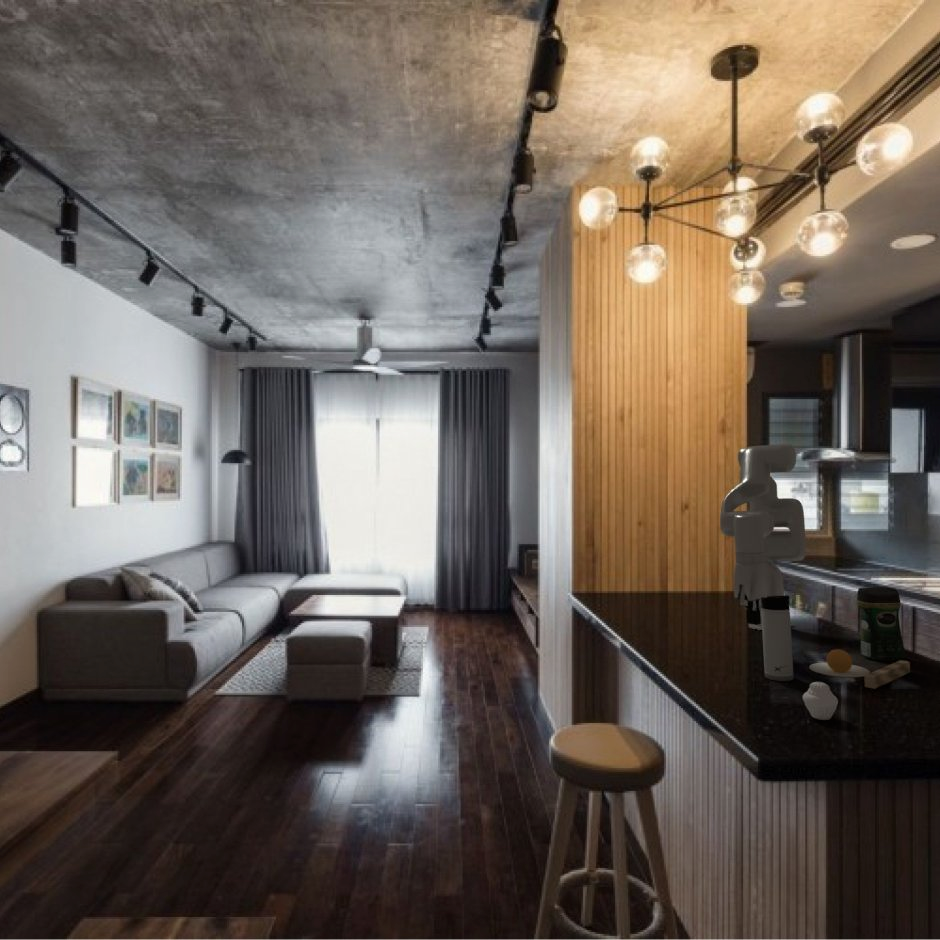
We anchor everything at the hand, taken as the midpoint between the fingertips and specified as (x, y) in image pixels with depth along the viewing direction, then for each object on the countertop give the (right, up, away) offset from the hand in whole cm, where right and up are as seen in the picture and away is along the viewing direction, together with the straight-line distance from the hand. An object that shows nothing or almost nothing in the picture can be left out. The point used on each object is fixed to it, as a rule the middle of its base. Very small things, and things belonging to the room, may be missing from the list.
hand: (754, 623), depth 177 cm
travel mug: (-5, -7, -24) cm, 26 cm away
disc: (+13, -7, -19) cm, 24 cm away
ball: (+12, -4, -21) cm, 24 cm away
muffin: (-10, -6, -51) cm, 53 cm away
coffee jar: (+30, -7, -9) cm, 32 cm away
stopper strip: (+19, -6, -28) cm, 35 cm away
